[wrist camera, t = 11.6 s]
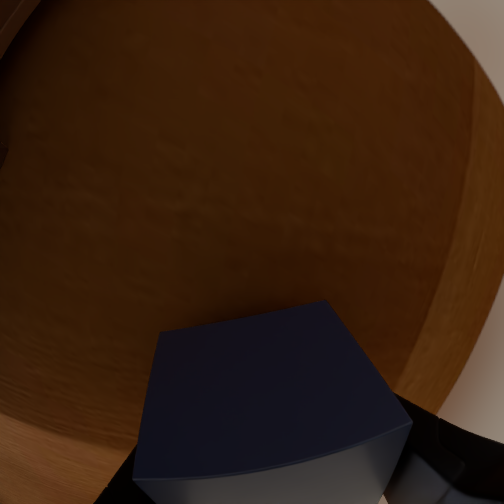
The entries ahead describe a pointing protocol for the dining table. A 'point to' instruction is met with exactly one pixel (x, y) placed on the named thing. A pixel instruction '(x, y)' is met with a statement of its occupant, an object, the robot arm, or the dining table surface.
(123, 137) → the dining table surface
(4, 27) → the drawer
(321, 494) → the block
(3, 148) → the cabinet
